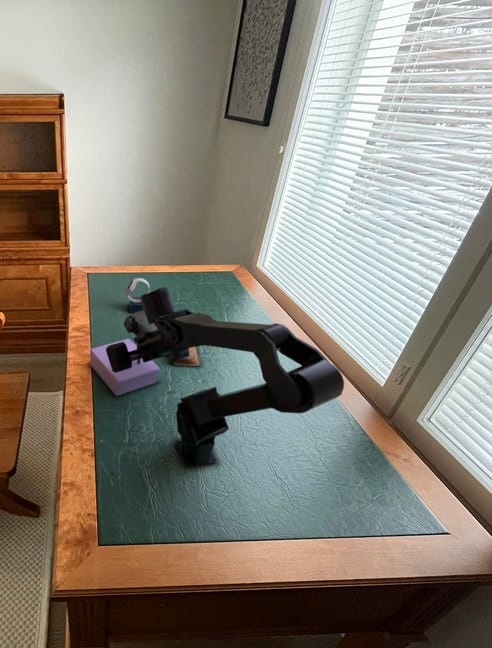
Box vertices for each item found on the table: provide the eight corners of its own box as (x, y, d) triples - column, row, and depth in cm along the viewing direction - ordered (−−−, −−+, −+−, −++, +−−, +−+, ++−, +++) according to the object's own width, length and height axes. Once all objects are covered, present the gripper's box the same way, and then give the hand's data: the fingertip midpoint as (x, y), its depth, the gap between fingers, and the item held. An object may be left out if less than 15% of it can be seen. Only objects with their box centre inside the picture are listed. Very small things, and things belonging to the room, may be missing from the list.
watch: (124, 304, 134) (126, 275, 127) (147, 305, 133) (150, 276, 127) (124, 312, 129) (126, 282, 123) (148, 313, 129) (151, 283, 122)
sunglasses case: (201, 365, 105) (192, 347, 102) (177, 374, 108) (168, 356, 104) (194, 331, 120) (186, 314, 116) (173, 339, 122) (165, 323, 119)
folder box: (156, 382, 100) (158, 369, 97) (116, 396, 95) (117, 382, 92) (127, 353, 110) (128, 340, 107) (89, 364, 105) (90, 351, 103)
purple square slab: (159, 370, 97) (162, 356, 94) (118, 384, 92) (119, 368, 89) (128, 340, 107) (129, 326, 105) (90, 351, 103) (90, 336, 100)
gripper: (184, 298, 86) (151, 318, 100) (112, 315, 78) (87, 334, 93) (200, 345, 85) (165, 358, 99) (128, 367, 78) (101, 378, 92)
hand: (130, 356), depth 96 cm, fingers open, 9 cm apart
